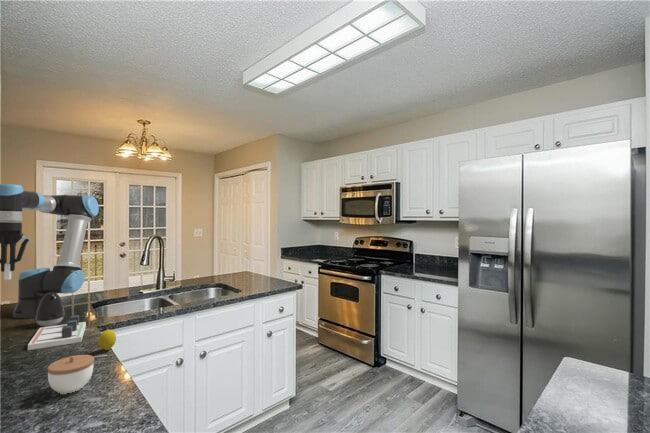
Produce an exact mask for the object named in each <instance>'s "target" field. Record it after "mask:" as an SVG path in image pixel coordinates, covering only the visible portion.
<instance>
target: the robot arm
mask: <svg viewBox="0 0 650 433" xmlns="http://www.w3.org/2000/svg"><path fill="white" fill-rule="evenodd" d="M99 209H100V208H99V203H98V200H97V199H96V198H95V197H94V196H92V195H85V194H83V195H82V194H81V195H78V194H77V195H76V194H75V195H74V194H58V195H57V194H54V195H47V194H44V195H43V194H42V193H41V192H36V191H30V190H24V188H23V186H22V185H21V184H14V183H13V184H11V183H0V248H1V249H0V272H2V273H3V272H4V274H3V275H4V276H3V280H4V281H8V280H9V281H10V280H11V279H12V272H14V271H15V269H16V263H17V262H20V261H22V260H23V255H24V254H25V250H26V247H27V244H28V243H29V242H30V241H31V239H30V238H27V237H25V236H24V234H23V229H22V228H23V222H22V221H23V210H25V211H38V212H39V213H43V214H50V215H55V216H56V215H57V216H64V217H65V218H66V219H67V220H68V221H67V224H66V228H65V233H64V237H63V241H62V246H61V250H60V253H59V257H58V262H57V263H56V264H54V266H53V268H52V270H51V268H50V267H41V268H35V269H34V268H33V269H28V270H24V271H23V270H22V271H21V272H20V273H19V275H18V276H19V277H18V280H17V281H18V288H17V289H18V294H17V295H18V296H17V298H18V300H17V303H16V305H15V308H14V310H13V312H12V317H13V318H14V319H30V318H31V319H32V318H36V312H37V309H38V306H39V303H40V301H41V299H42V298H43V296H44V295H45V294H47V293H49V292H55V293H57V294H66V295H67V294H74V293H76V292H77V291H79V290H80V289H81V288H82V286H83V285H84V282H85V278H86V277H85V273H84V271H83V270H82V267H81V266H80V260H81V255H82V250H83V246H84V242H85V237H86V232H87V226H88V224H89V222H92V220H93V217H94V218H95V217H97V215H98V214H99V211H100V210H99ZM19 241H21V245H20V248H19V251H18V252H17V251H16V247H17V244H18V242H19ZM8 246H9V262H8ZM16 252H17V253H16ZM16 254H17V255H16Z"/></svg>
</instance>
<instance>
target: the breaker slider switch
mask: <svg viewBox="0 0 650 433" xmlns="http://www.w3.org/2000/svg"><path fill="white" fill-rule="evenodd" d="M70 336H72V326H65V327H63V328H62V338H63V337H70Z"/></svg>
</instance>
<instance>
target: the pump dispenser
mask: <svg viewBox="0 0 650 433" xmlns="http://www.w3.org/2000/svg"><path fill="white" fill-rule="evenodd" d="M64 308H65V307H64V304H63V301H62V299H61V297H60V295H59V293H55V292H49V293H47V294H45V295H44V296H43V298H42V299H41V301H40V303H39V306H38V309H37V312H36V317H34V318H35V321H36V323H37V324H38V325H39V326H40V327H50V326H58V325H59V324H60V323H61V322H63V319H64V317H65V314H66V313H65V309H64Z"/></svg>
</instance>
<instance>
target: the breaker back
mask: <svg viewBox="0 0 650 433" xmlns="http://www.w3.org/2000/svg"><path fill="white" fill-rule="evenodd" d="M72 320H77V325H78V324H79V323H80V315H79V314H76V315H70V316H69V321H72Z"/></svg>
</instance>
